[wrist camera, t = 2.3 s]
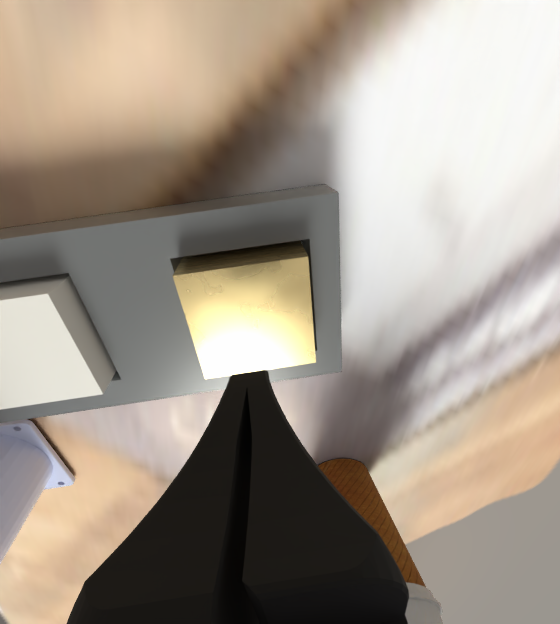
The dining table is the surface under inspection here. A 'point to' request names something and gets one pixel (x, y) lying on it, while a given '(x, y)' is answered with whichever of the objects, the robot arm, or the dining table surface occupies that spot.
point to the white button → (48, 344)
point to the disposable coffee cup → (383, 533)
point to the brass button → (248, 308)
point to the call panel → (161, 287)
